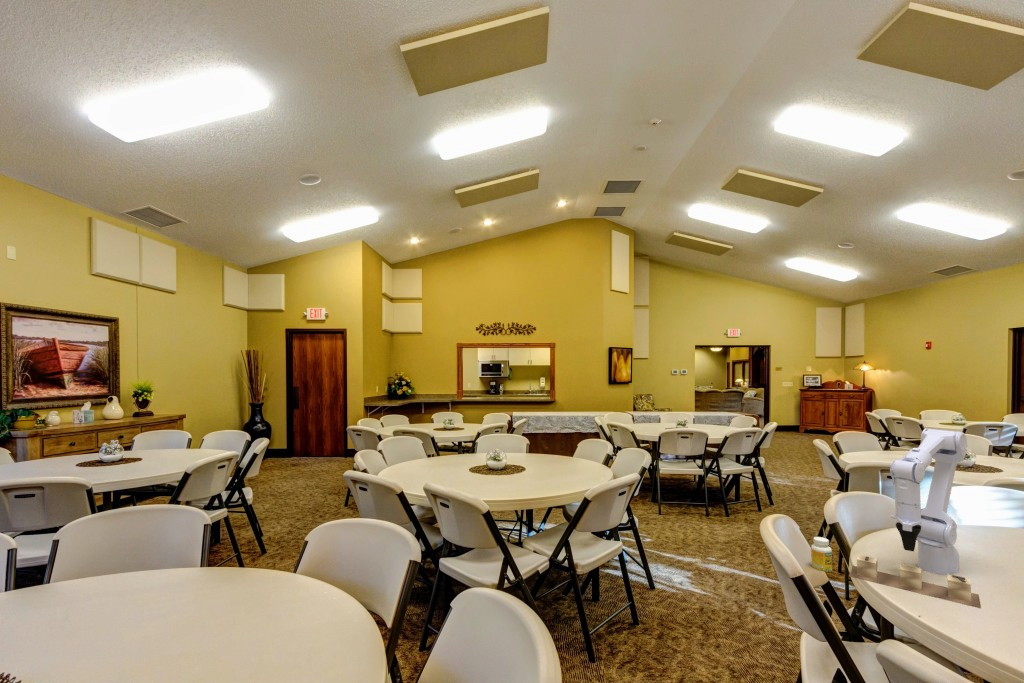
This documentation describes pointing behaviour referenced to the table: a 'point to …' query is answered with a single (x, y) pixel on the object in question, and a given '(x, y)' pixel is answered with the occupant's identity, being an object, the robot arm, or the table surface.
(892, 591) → the table surface
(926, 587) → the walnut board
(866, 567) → the block one
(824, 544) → the supplement bottle
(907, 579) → the plain block
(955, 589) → the block seven
